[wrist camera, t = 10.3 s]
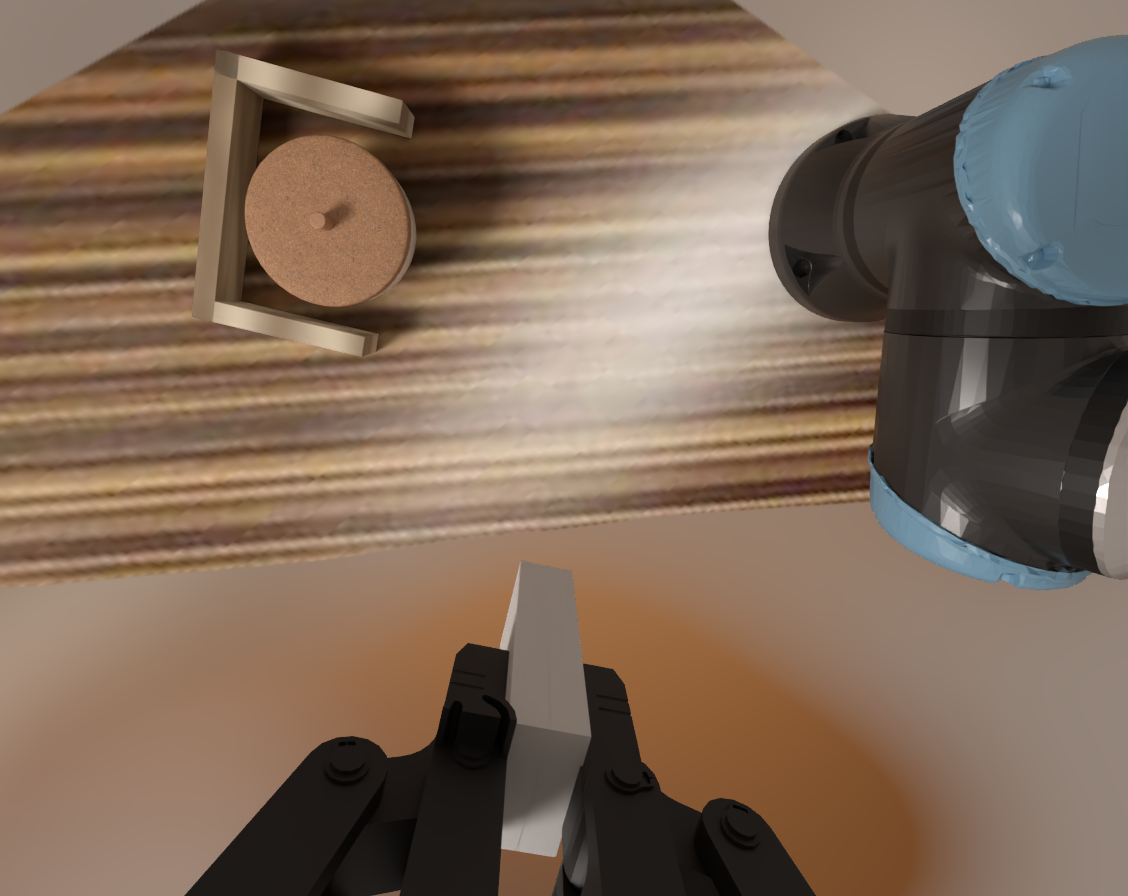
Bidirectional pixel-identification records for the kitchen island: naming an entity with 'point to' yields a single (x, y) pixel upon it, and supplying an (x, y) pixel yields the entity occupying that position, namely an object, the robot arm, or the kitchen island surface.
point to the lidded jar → (329, 221)
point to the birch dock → (230, 175)
